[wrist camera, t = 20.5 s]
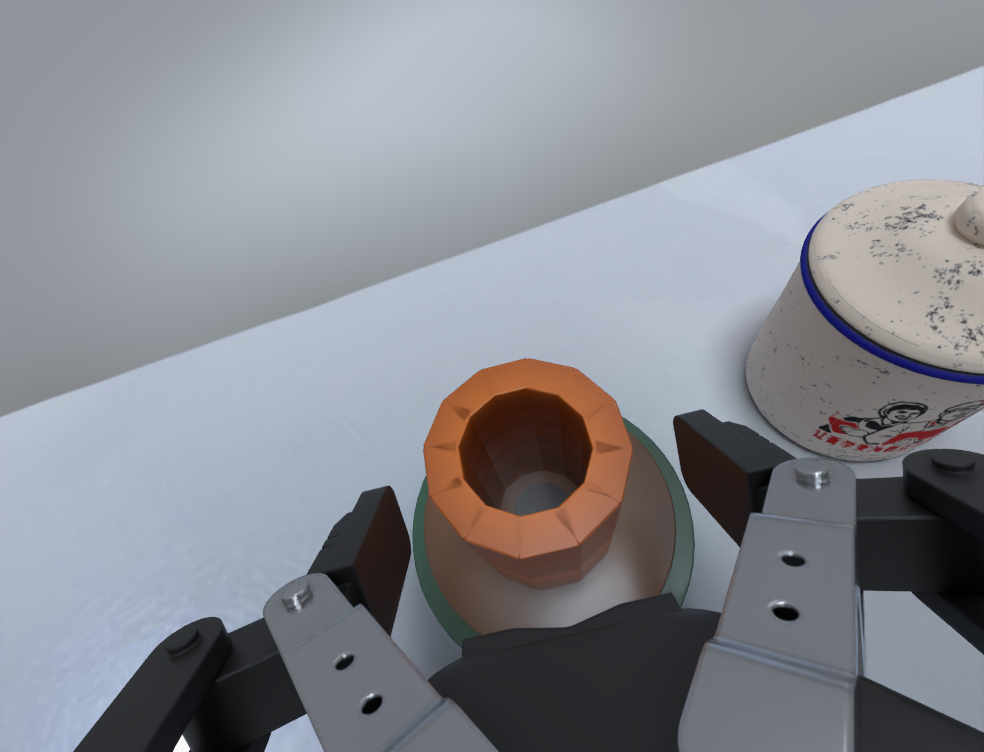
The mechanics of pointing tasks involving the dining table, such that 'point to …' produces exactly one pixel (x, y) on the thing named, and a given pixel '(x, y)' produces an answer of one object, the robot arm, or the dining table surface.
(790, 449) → the dining table surface
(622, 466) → the orange hollow cylinder
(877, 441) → the teacup with lid
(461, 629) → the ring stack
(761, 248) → the dining table surface
